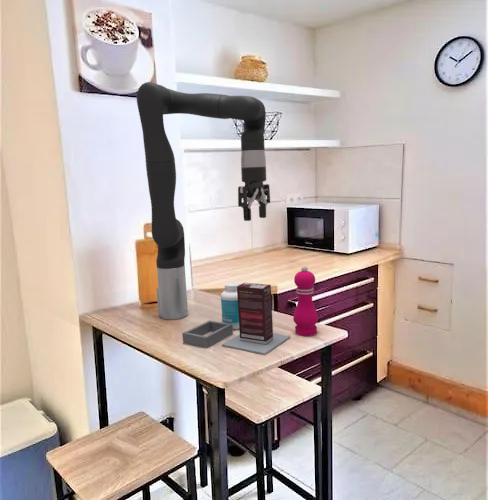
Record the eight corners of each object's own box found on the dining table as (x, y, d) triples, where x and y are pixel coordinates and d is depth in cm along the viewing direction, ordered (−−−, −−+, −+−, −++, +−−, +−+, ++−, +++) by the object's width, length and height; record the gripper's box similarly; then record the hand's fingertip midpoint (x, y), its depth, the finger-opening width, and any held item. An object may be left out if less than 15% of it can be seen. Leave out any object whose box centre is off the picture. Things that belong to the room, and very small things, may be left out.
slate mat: (221, 346, 129) (221, 344, 129) (249, 330, 141) (249, 328, 141) (264, 355, 122) (264, 353, 122) (290, 337, 133) (290, 336, 133)
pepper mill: (321, 335, 134) (320, 267, 131) (297, 337, 133) (295, 269, 129) (314, 327, 141) (312, 262, 138) (290, 329, 140) (288, 264, 136)
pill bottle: (243, 330, 141) (241, 287, 139) (219, 330, 142) (217, 287, 140) (248, 322, 148) (246, 281, 146) (225, 322, 150) (223, 281, 147)
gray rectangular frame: (183, 343, 133) (182, 333, 133) (210, 329, 143) (209, 320, 143) (206, 348, 128) (205, 337, 128) (232, 333, 139) (232, 324, 138)
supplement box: (274, 339, 131) (271, 284, 129) (266, 345, 127) (263, 288, 125) (247, 334, 136) (244, 281, 133) (238, 340, 132) (236, 285, 129)
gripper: (250, 166, 134) (252, 222, 137) (276, 165, 145) (277, 217, 148) (229, 166, 138) (232, 221, 141) (256, 166, 150) (257, 216, 152)
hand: (255, 219), depth 145 cm, fingers open, 8 cm apart
